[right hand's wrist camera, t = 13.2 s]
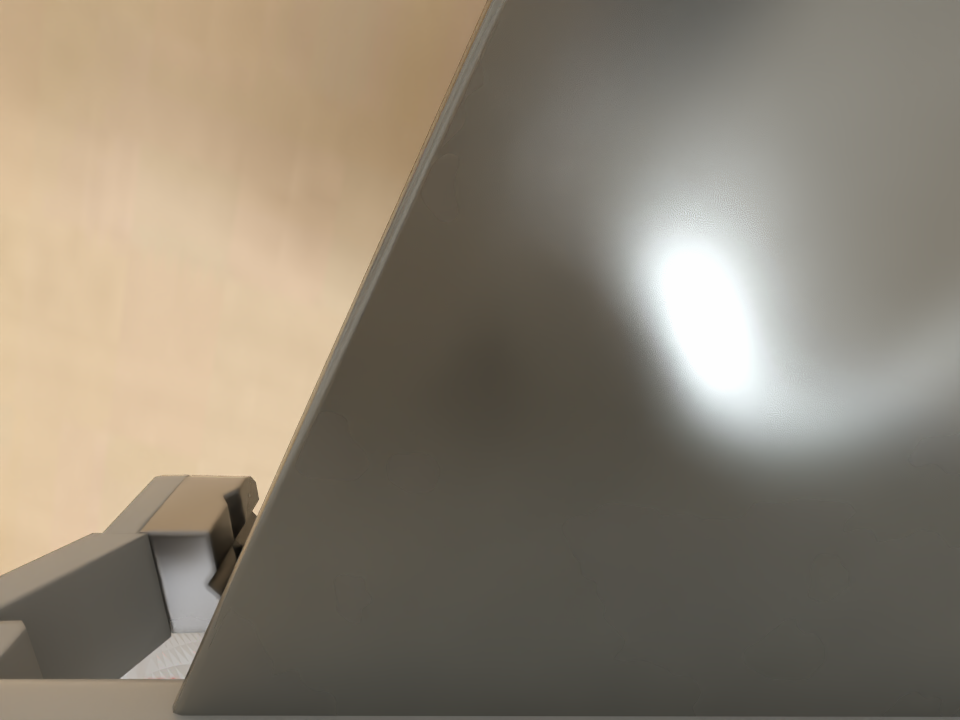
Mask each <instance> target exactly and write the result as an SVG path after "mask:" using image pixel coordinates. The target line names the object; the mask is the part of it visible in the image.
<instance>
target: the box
mask: <svg viewBox="0 0 960 720" xmlns="http://www.w3.org/2000/svg"><path fill="white" fill-rule="evenodd" d="M173 713H175V714H178V715H181V716H686V717H960V0H487V3H486V5H485V7H484V9H483V12H482V14H481V16H480V18H479V21H478V23H477V25H476V27H475V29H474V32H473V34H472V36H471V38H470V41H469V43H468V45H467V47H466V50H465V52H464V54H463V56H462V59H461V61H460V63H459V65H458V68H457V70H456V72H455V74H454V77H453V79H452V81H451V83H450V85H449V88H448V90H447V92H446V94H445V97H444V99H443V101H442V103H441V106H440V108H439V110H438V112H437V115H436V117H435V119H434V121H433V124H432V126H431V128H430V130H429V133H428V135H427V137H426V139H425V141H424V144H423V146H422V148H421V150H420V153H419V155H418V157H417V159H416V162H415V164H414V166H413V168H412V171H411V173H410V175H409V177H408V180H407V182H406V184H405V186H404V189H403V191H402V193H401V195H400V197H399V200H398V202H397V204H396V206H395V209H394V211H393V213H392V215H391V218H390V220H389V222H388V224H387V227H386V229H385V231H384V233H383V236H382V238H381V240H380V242H379V245H378V247H377V249H376V251H375V253H374V256H373V258H372V260H371V262H370V265H369V267H368V269H367V271H366V274H365V276H364V278H363V280H362V283H361V285H360V287H359V289H358V292H357V294H356V296H355V298H354V301H353V303H352V305H351V307H350V309H349V312H348V314H347V316H346V318H345V321H344V323H343V325H342V327H341V330H340V332H339V334H338V336H337V339H336V341H335V343H334V345H333V348H332V350H331V352H330V354H329V357H328V359H327V361H326V363H325V365H324V368H323V370H322V372H321V374H320V377H319V379H318V381H317V383H316V386H315V388H314V390H313V392H312V395H311V397H310V399H309V401H308V404H307V406H306V408H305V410H304V413H303V415H302V417H301V419H300V421H299V424H298V426H297V428H296V430H295V433H294V435H293V437H292V439H291V442H290V444H289V446H288V448H287V451H286V453H285V455H284V457H283V460H282V462H281V464H280V466H279V469H278V471H277V473H276V475H275V477H274V480H273V482H272V484H271V486H270V489H269V491H268V493H267V495H266V498H265V500H264V502H263V504H262V507H261V509H260V511H259V513H258V516H257V518H256V520H255V522H254V525H253V527H252V529H251V531H250V533H249V536H248V538H247V540H246V542H245V545H244V547H243V549H242V551H241V554H240V556H239V558H238V560H237V563H236V565H235V567H234V569H233V572H232V574H231V576H230V578H229V581H228V583H227V585H226V587H225V589H224V592H223V594H222V596H221V598H220V601H219V603H218V605H217V607H216V610H215V612H214V614H213V616H212V619H211V621H210V623H209V625H208V628H207V630H206V632H205V634H204V637H203V639H202V641H201V643H200V645H199V648H198V650H197V652H196V654H195V657H194V659H193V661H192V663H191V666H190V668H189V670H188V672H187V675H186V677H185V679H184V681H183V684H182V686H181V688H180V690H179V693H178V695H177V697H176V699H175V701H174V704H173Z"/></svg>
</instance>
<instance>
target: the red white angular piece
mask: <svg viewBox="0 0 960 720" xmlns="http://www.w3.org/2000/svg"><path fill="white" fill-rule="evenodd" d="M204 634H205V633H172V634H171V635H172V636H171V637H170V638H169V639H168V640H167V641H165V642H164V643H163V644H162V645H160V646H159V647H158V648H157V649H156V650H154V651H153V652H152V653H151V654H149V655H148V656H147V657H146V658H145V659H143V660H142V661H141V662H140V663H138V664H137V665H136V666H135V667H134V668H132V669H131V670H130V671H129V672H127V673H126V674H125V675H124V676H122V677H121V678H120V679H185V677H186V675H187V672H188V670H189V668H190V666H191V663H192V661H193V659H194V657H195V654H196V652H197V650H198V648H199V645H200V643H201V641H202V639H203V637H204Z"/></svg>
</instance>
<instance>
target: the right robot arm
mask: <svg viewBox="0 0 960 720" xmlns="http://www.w3.org/2000/svg"><path fill="white" fill-rule="evenodd" d="M258 500H259V497H258V492H257V487H256V482H255V481H254V480H253V479H252V477H251V476H203V475H192V476H190V475H162V476H157V477H155V478H154V479H153V480H152V481H151V482H150V483H149V484H148V485H147V486H146V487H145V488H144V489H143V490H142V491H141V492H140V494H139V495H138V496H137V497H136V498H135V499H134V500H133V501H132V502H131V503H130V504H129V505H128V506H127V507H126V508H125V510H124V511H123V512H122V513H121V514H120V515H119V516H118V517H117V518H116V519H115V520H114V521H113V522H112V523H111V525H110V526H109V527H108V528H107V529H106V530H105V531H104V532H103V533H92V534H90V535H87V536H85V537H83V538H81V539H79V540H77V541H75V542H72V543H70V544H68V545H66V546H64V547H62V548H59V549H57V550H55V551H53V552H51V553H49V554H47V555H44V556H42V557H40V558H38V559H36V560H34V561H31V562H29V563H27V564H25V565H23V566H21V567H19V568H16V569H14V570H12V571H10V572H8V573H6V574H4V575H1V576H0V720H960V717H686V716H181V715H178V714H175V713H173V704H174V701H175V699H176V697H177V695H178V693H179V690H180V688H181V686H182V684H183V681H184V679H120V678H121V677H122V676H124V675H125V674H126V673H127V672H129V671H130V670H131V669H132V668H134V667H135V666H136V665H137V664H138V663H140V662H141V661H142V660H143V659H145V658H146V657H147V656H148V655H149V654H151V653H152V652H153V651H154V650H156V649H157V648H158V647H159V646H160V645H162V644H163V643H164V642H165V641H167V640H168V639H169V638H170V637H171V636H172V635H171V634H172V633H205V632H206V630H207V628H208V625H209V623H210V621H211V619H212V616H213V614H214V612H215V610H216V607H217V605H218V603H219V601H220V598H221V596H222V594H223V592H224V589H225V587H226V585H227V583H228V581H229V578H230V576H231V574H232V572H233V569H234V567H235V565H236V563H237V560H238V558H239V556H240V554H241V551H242V549H243V547H244V545H245V542H246V540H247V538H248V536H249V533H250V531H251V529H252V527H253V525H254V522H255V520H256V518H257V516H256V515H255V514H254V513H253V512H252V511H253V509H254V507H255V505H256V504H257V502H258Z"/></svg>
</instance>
